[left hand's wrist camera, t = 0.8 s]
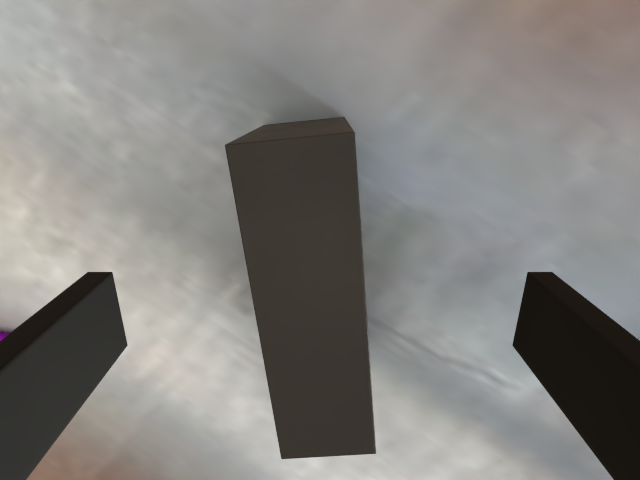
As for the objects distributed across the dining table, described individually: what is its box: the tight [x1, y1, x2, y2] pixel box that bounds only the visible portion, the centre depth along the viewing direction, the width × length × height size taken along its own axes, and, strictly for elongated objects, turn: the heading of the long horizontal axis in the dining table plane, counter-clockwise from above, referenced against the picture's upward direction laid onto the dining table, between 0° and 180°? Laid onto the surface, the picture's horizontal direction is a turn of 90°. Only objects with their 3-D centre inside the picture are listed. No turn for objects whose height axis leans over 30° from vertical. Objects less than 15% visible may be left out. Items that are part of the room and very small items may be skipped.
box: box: [225, 117, 376, 459], centre depth 28 cm, size 20×6×12 cm, turn 6°
